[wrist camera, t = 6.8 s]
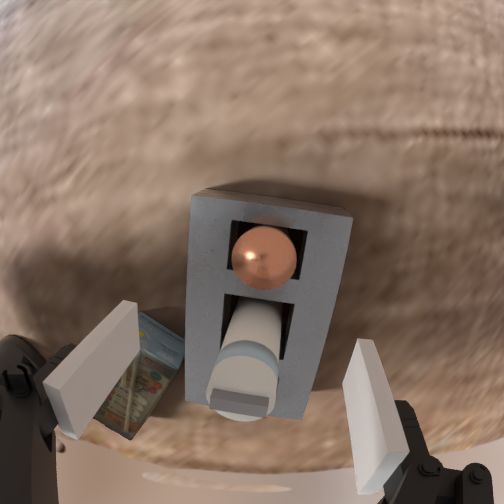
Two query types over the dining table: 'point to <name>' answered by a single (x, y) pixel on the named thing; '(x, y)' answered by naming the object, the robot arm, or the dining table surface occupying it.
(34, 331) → the dining table surface
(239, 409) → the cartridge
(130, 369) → the beverage carton
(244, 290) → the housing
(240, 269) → the plunger
